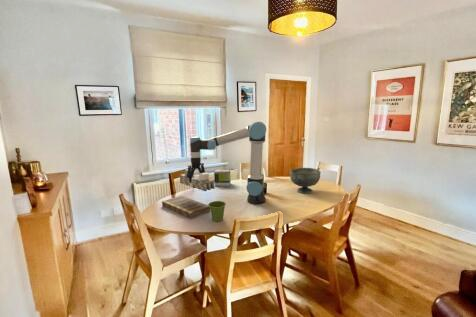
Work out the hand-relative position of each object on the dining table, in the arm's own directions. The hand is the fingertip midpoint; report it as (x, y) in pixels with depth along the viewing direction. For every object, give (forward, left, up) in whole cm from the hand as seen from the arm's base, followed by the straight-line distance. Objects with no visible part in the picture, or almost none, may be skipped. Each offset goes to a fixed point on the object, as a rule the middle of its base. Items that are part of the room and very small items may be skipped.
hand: (196, 185), depth 195 cm
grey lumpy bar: (0, 0, 0) cm, 0 cm away
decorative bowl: (-49, -84, -16) cm, 99 cm away
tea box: (+24, -51, -16) cm, 59 cm away
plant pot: (-33, +9, -16) cm, 38 cm away
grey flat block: (0, +12, -16) cm, 20 cm away
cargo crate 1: (+9, 0, +7) cm, 11 cm away
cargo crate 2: (-9, 0, +6) cm, 11 cm away
